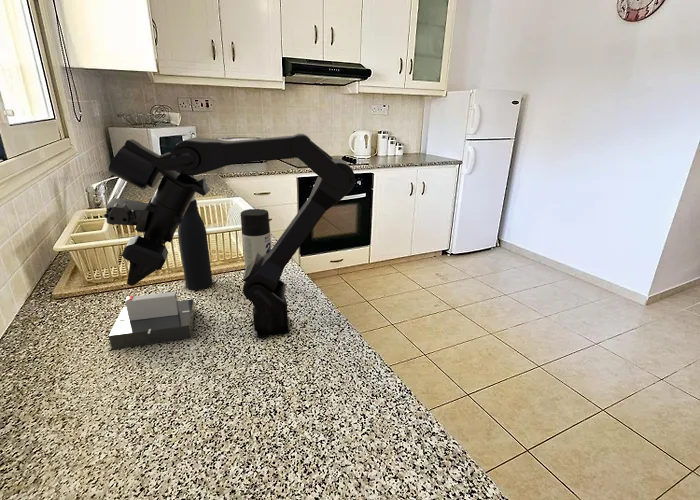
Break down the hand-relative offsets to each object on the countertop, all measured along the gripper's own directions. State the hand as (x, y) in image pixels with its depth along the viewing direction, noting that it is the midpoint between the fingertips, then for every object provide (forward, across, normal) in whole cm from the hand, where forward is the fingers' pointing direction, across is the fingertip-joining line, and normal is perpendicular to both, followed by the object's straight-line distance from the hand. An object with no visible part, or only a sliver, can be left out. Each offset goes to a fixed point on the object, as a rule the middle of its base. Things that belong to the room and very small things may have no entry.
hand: (135, 272), depth 70 cm
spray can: (+1, -15, +28) cm, 32 cm away
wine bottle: (+10, -20, +15) cm, 27 cm away
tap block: (+11, -1, +8) cm, 14 cm away
